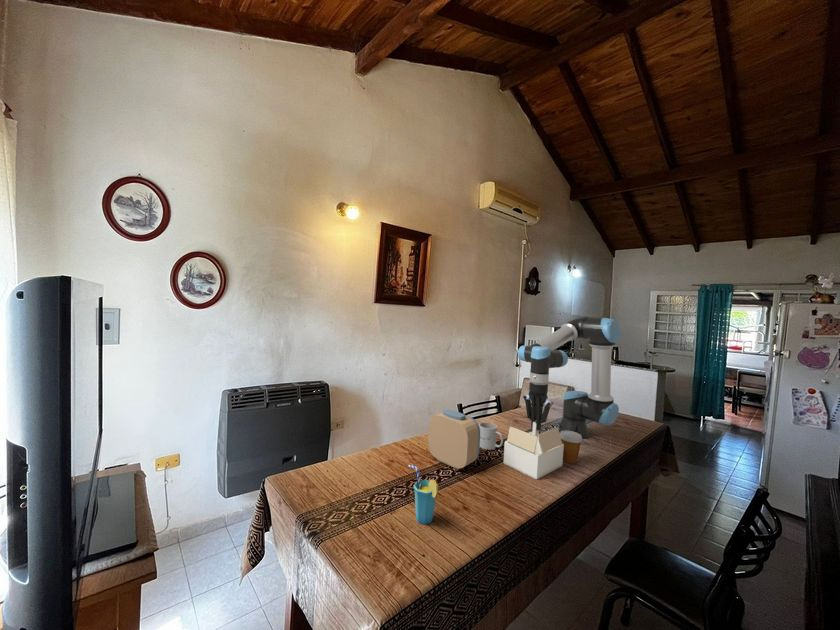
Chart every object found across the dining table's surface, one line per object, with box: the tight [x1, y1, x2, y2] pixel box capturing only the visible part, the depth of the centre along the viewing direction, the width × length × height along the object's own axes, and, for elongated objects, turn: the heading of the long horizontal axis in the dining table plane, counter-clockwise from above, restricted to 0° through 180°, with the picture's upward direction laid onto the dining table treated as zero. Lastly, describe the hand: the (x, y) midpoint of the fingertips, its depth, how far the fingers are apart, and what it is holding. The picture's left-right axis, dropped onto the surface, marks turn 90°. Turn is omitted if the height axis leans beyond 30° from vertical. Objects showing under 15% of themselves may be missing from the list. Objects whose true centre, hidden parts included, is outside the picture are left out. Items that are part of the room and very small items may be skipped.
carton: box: [503, 431, 564, 481], centre depth 144 cm, size 21×17×10 cm
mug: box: [478, 421, 504, 451], centre depth 160 cm, size 12×9×10 cm
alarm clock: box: [427, 409, 481, 471], centre depth 142 cm, size 21×10×22 cm, turn 47°
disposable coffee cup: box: [559, 431, 583, 465], centre depth 150 cm, size 10×10×12 cm
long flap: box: [538, 426, 562, 453], centre depth 138 cm, size 15×7×1 cm
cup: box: [407, 464, 439, 525], centre depth 105 cm, size 14×8×15 cm, turn 46°
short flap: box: [506, 425, 538, 453], centre depth 138 cm, size 6×13×1 cm
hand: (535, 436), depth 143 cm, fingers closed
